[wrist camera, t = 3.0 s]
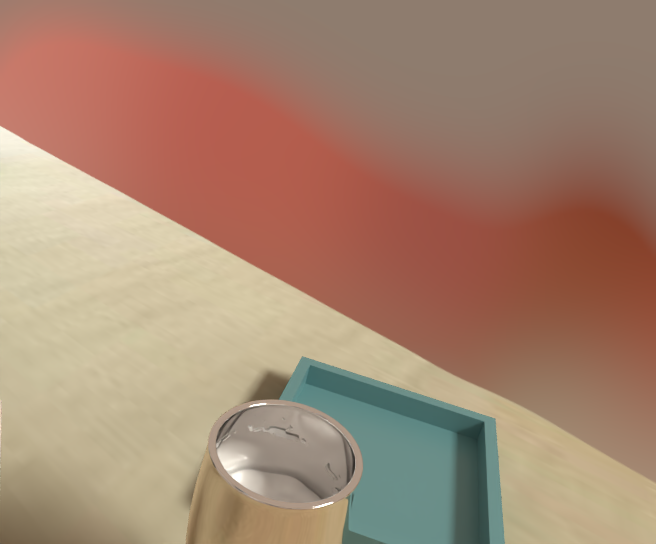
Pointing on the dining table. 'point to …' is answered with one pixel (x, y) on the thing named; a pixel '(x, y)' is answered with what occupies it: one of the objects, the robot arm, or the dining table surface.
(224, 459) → the silver metal tumbler
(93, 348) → the dining table surface
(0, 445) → the robot arm
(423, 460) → the tray
